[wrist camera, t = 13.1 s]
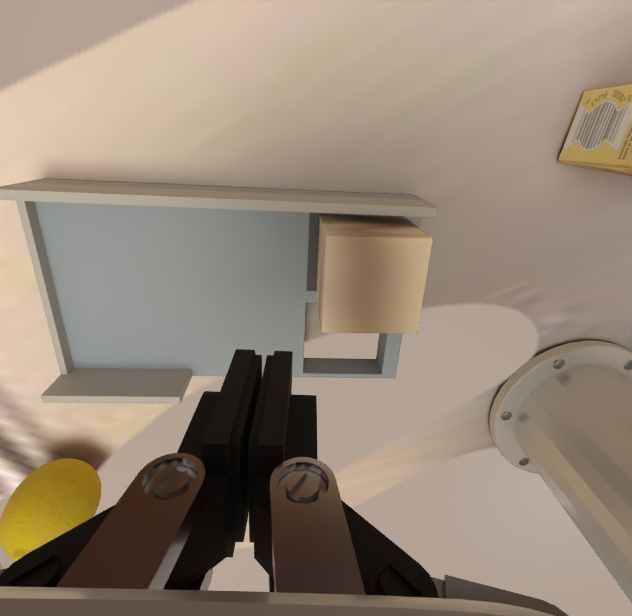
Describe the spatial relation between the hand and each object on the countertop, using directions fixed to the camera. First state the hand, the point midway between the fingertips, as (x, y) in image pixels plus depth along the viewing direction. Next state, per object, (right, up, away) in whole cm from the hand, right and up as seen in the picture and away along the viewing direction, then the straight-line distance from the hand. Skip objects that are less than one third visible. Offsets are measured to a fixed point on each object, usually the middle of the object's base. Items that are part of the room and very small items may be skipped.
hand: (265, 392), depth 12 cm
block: (+4, +6, +12) cm, 14 cm away
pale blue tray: (-4, +4, +14) cm, 15 cm away
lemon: (-17, -10, +20) cm, 28 cm away
